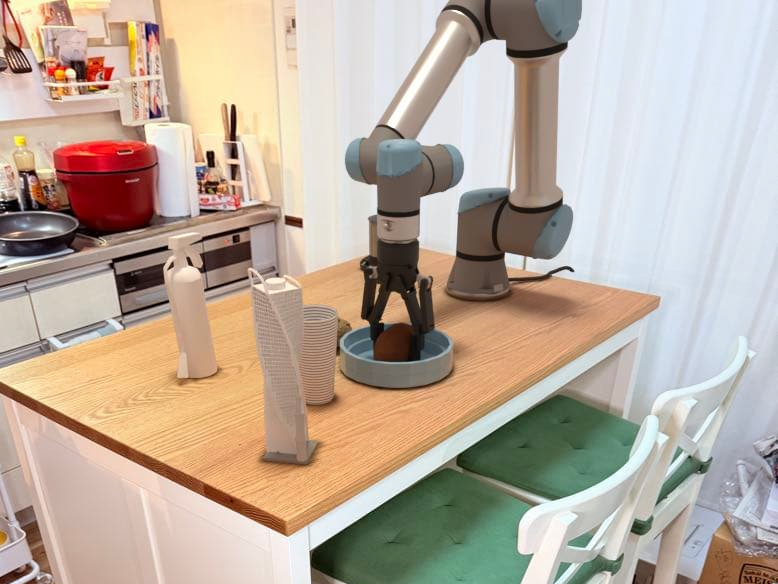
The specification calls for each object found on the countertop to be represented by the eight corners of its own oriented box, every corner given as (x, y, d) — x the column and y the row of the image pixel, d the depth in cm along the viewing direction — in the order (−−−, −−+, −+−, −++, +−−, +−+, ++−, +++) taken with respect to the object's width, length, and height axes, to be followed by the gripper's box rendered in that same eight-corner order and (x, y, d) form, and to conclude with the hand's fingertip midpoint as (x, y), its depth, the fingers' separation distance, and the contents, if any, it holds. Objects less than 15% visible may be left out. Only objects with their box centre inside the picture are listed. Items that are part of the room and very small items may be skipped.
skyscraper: (254, 459, 119) (235, 276, 103) (270, 435, 126) (255, 259, 110) (306, 464, 118) (295, 279, 102) (320, 440, 124) (312, 263, 108)
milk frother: (391, 286, 192) (392, 223, 183) (339, 276, 199) (338, 215, 190) (420, 272, 202) (422, 212, 193) (369, 263, 209) (369, 205, 200)
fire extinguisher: (161, 381, 144) (137, 242, 130) (201, 359, 153) (183, 227, 138) (190, 388, 141) (169, 247, 127) (229, 365, 150) (213, 231, 136)
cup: (296, 388, 141) (290, 304, 132) (342, 388, 141) (339, 304, 132) (290, 408, 134) (284, 320, 125) (339, 408, 134) (336, 321, 125)
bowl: (380, 339, 162) (380, 315, 159) (471, 360, 152) (473, 336, 149) (318, 372, 147) (316, 347, 144) (414, 399, 137) (415, 373, 134)
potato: (362, 368, 148) (361, 327, 143) (399, 350, 155) (399, 311, 150) (393, 378, 144) (393, 337, 139) (429, 359, 151) (431, 320, 146)
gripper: (338, 235, 138) (342, 356, 151) (437, 251, 128) (432, 379, 142) (362, 226, 143) (364, 344, 156) (459, 242, 134) (452, 366, 147)
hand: (396, 361), depth 149 cm, fingers closed on potato, 8 cm apart
